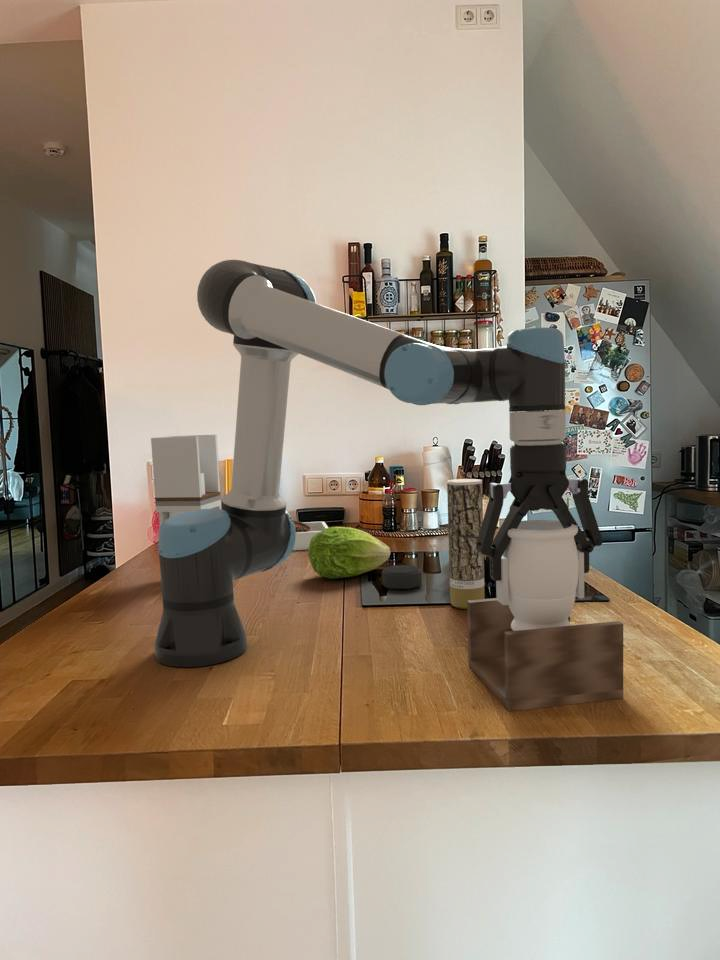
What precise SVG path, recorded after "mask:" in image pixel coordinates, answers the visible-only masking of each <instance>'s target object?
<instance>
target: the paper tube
mask: <svg viewBox="0 0 720 960" xmlns="http://www.w3.org/2000/svg"><path fill="white" fill-rule="evenodd" d="M446 486H447V487H446V488H447V489H446V491H447V492H446V493H447V531H448V565H449V567H448V568H449V571H448V572H449V596H450V597H449V599H450V600H449V601H450V604H451V605H452V606H453V607H454V608H457V609H462V610H467V601H468V600H480V599H486V598H485V558H484V556H485V555H484V554H482V553H480V552H478V551H477V550H476V544H477V540H478V537H479V533H480V530H481V526H482V523H483V519H484V508H483V507H484V505H483V503H484V501H483V500H484V499H483V479H480V478H479V479H477V478H456V479H455V478H454V479H449V480H447V483H446Z"/></svg>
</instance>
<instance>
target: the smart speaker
mask: <svg viewBox="0 0 720 960" xmlns="http://www.w3.org/2000/svg"><path fill="white" fill-rule="evenodd" d="M422 574H423V573H422V570H421V568H419V567H418V566H415V565H409V564H406V565H405V564H401V565H400V564H398V565H390V566H387V567H385V568H384V569H383V570H382V571H381V584H382V585H383V587H384V588H387V589H389V590H394V589H408V590H412V589H411V588H414V589H416V588H415V587H417V588H418V586H419V587H420V586H422V582H423V578H422V576H423V575H422Z"/></svg>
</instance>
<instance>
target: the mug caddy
mask: <svg viewBox="0 0 720 960" xmlns="http://www.w3.org/2000/svg"><path fill="white" fill-rule="evenodd" d="M303 523H304V524H306V525H308V526H309V527H310V530H309V532H297V533H296V538H295V544H294V547H293V549H292V552H293V551H304V550H305V551H306V550H307V551H308V549H309V545H310V541H311V538H312V537H313V536H315V535H316V534H318V533H319V532H321V531H323V530H325V529H327V528H329V526H328V525H327V523H326V522H325V520H324V521H323V520H322V521H310V522H308V521H307V522H303Z"/></svg>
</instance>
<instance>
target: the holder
mask: <svg viewBox="0 0 720 960" xmlns="http://www.w3.org/2000/svg"><path fill="white" fill-rule="evenodd" d="M466 610H467V611H466V612H467V613H466V615H467V644H468V646H467V648H468V649H467V653H468V667H469V668H470V669H471V670H472V671H473V672H474V674H475V675H476V676H477V677H478V679H480V680H481V682H482V683H483V684H484V685H485V686H486V687H487V688H488V689H489V690H490V691H491V692H492V694H493V695H494V696H495V698H497V699H498V700H499V702H500V703H501V704H502V705H503V706H504V708H505V709H506V710H507V711H508V712H513V711H514V712H515V711H516V712H517V711H524V710H530V709H531V710H532V709H539V708H548V707H550V708H551V707H558V706H568V705H575V704H584V703H594V702H601V701H602V702H603V701H610V700H618V699H619V700H620V699H624V623H622V622H621V621H619V620H617V621H616V620H615V621H607V622H596V623H595V622H594V623H583V624H574V625H572V624H571V626H561V627H550V628H540V629H529V630H519V631H513V630H512V628H511V623H512V621H513V619H514V616H513V614H512V612H511V610H510V608H509V605H502V604H501V603H500V602H498V601H497V597H494V598H493V597H492V598H485V599H480V600H468V601H467V609H466ZM568 621H569V622H570V623H571V615H570V616H569V617H568Z"/></svg>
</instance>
